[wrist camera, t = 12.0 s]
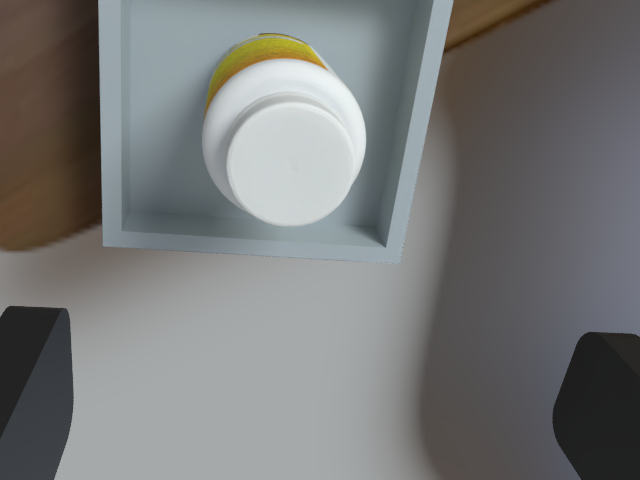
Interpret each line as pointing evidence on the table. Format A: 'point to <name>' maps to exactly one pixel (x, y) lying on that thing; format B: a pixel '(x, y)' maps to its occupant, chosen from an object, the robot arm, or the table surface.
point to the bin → (189, 110)
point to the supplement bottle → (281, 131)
